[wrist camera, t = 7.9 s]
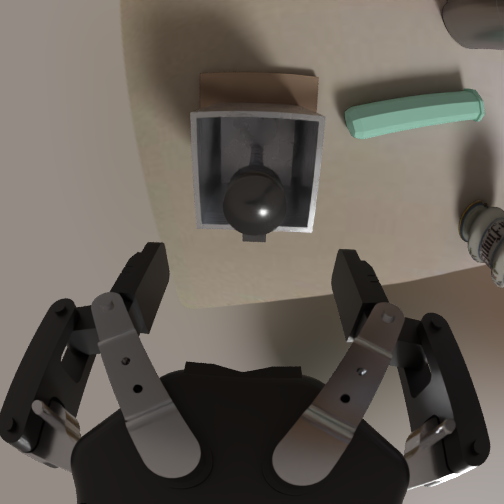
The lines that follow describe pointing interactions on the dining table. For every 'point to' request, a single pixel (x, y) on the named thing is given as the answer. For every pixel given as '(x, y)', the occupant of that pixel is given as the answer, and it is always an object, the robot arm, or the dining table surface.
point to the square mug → (213, 190)
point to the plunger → (256, 171)
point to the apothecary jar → (485, 237)
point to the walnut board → (258, 89)
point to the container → (413, 112)
